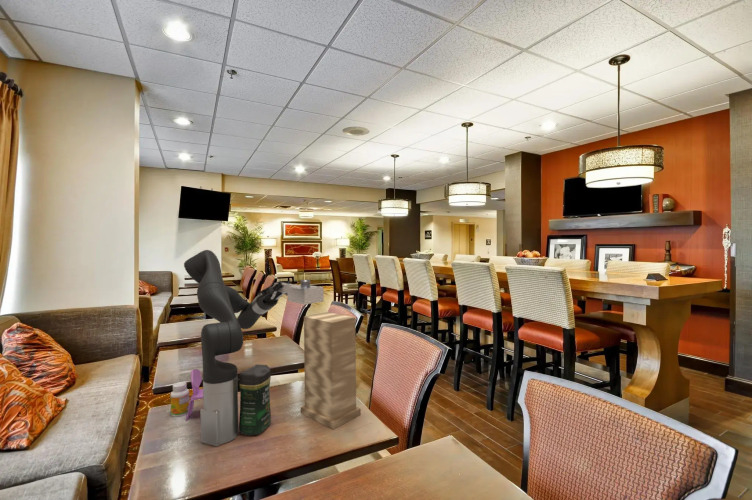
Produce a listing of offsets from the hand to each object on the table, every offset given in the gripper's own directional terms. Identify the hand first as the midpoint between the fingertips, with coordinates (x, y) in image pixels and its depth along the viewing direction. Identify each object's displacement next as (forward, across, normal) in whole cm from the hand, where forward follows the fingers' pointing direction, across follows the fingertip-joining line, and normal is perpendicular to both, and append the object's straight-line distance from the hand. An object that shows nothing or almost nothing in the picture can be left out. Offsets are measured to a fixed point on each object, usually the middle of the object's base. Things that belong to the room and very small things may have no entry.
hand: (285, 283), depth 131 cm
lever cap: (+3, 0, +7) cm, 8 cm away
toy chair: (-25, -28, +33) cm, 50 cm away
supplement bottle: (-31, -33, +30) cm, 54 cm away
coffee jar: (-7, -21, +43) cm, 49 cm away
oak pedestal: (+2, 0, +48) cm, 48 cm away
